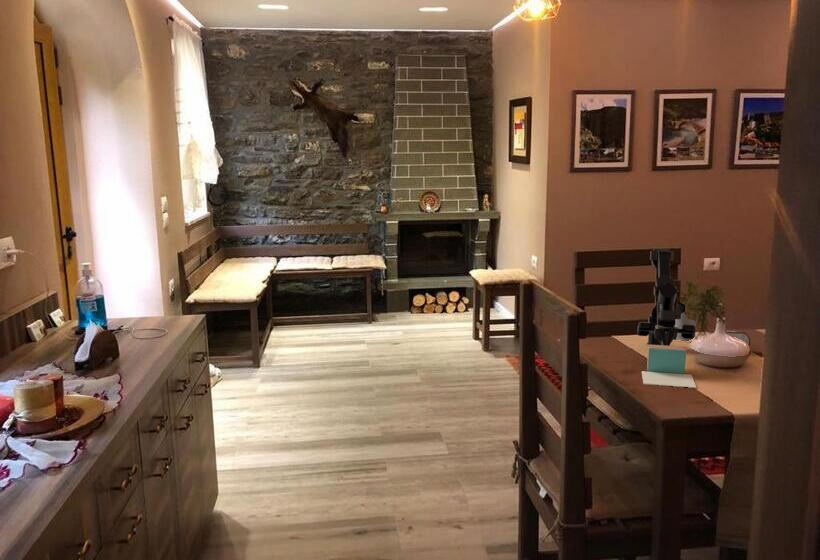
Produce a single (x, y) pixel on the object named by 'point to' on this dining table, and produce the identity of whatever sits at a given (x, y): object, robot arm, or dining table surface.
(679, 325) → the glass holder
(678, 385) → the mat
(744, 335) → the tin
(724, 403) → the dining table surface
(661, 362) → the tile
